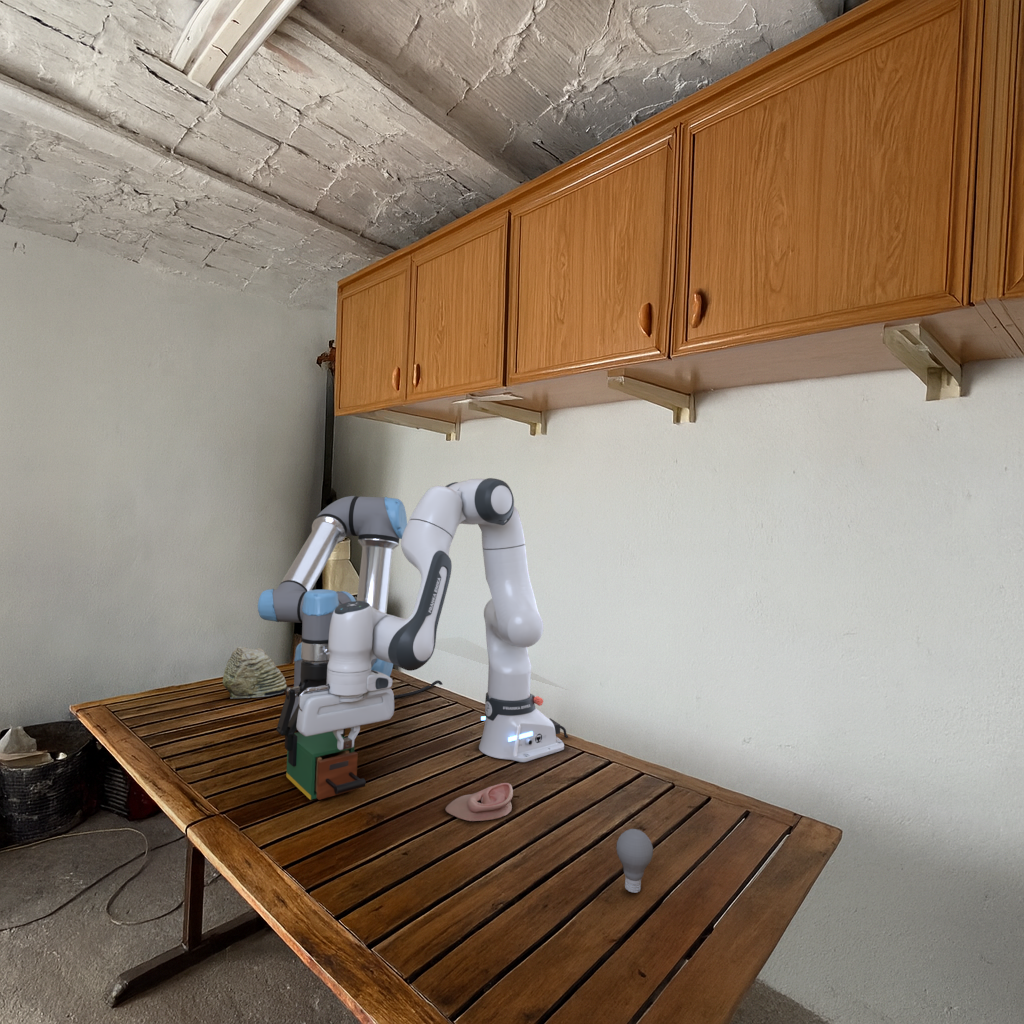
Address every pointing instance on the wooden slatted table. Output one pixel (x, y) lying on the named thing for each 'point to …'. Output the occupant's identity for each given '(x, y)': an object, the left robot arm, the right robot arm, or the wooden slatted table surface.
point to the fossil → (252, 674)
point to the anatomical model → (483, 804)
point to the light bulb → (634, 857)
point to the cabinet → (310, 760)
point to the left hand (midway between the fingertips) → (314, 758)
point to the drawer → (336, 774)
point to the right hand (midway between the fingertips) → (345, 748)
